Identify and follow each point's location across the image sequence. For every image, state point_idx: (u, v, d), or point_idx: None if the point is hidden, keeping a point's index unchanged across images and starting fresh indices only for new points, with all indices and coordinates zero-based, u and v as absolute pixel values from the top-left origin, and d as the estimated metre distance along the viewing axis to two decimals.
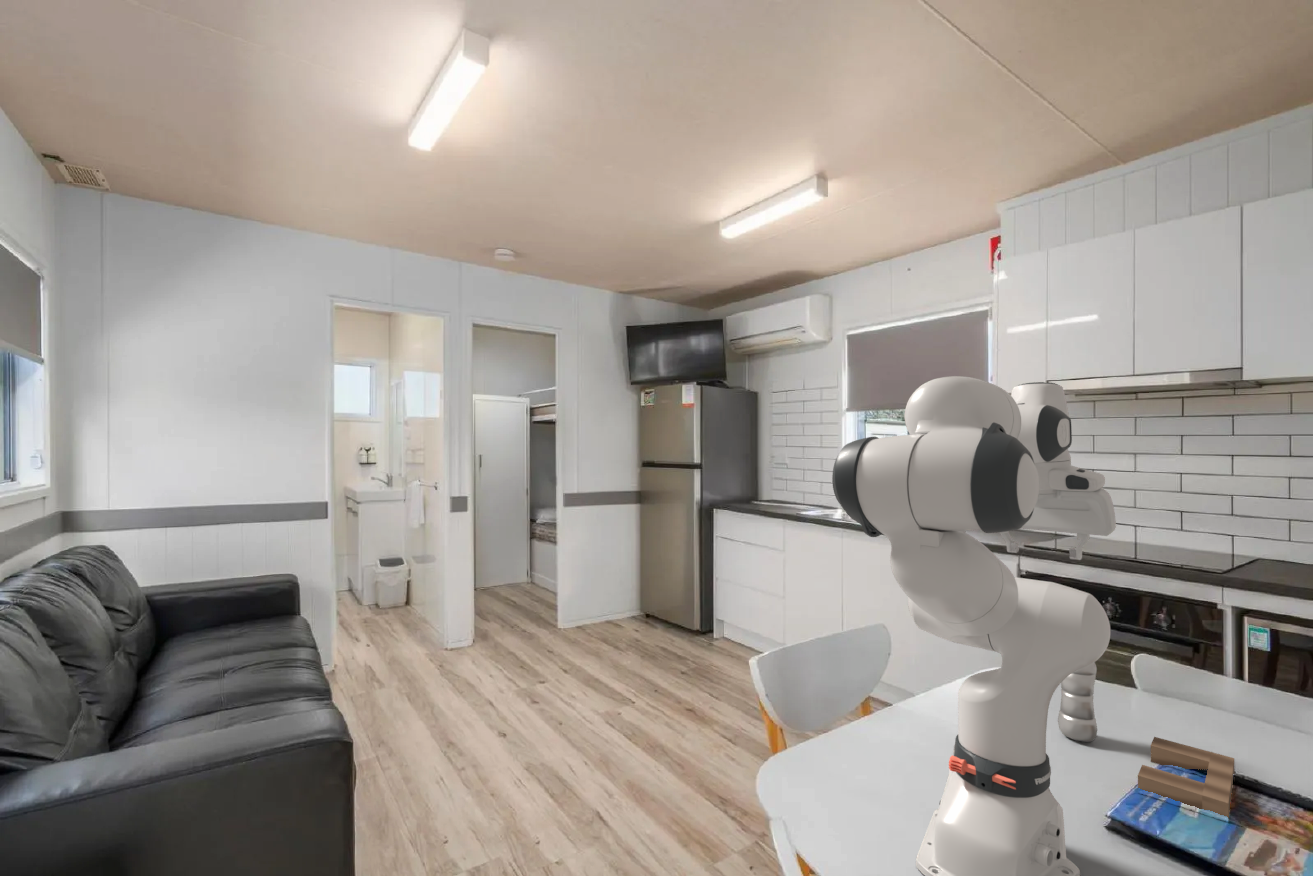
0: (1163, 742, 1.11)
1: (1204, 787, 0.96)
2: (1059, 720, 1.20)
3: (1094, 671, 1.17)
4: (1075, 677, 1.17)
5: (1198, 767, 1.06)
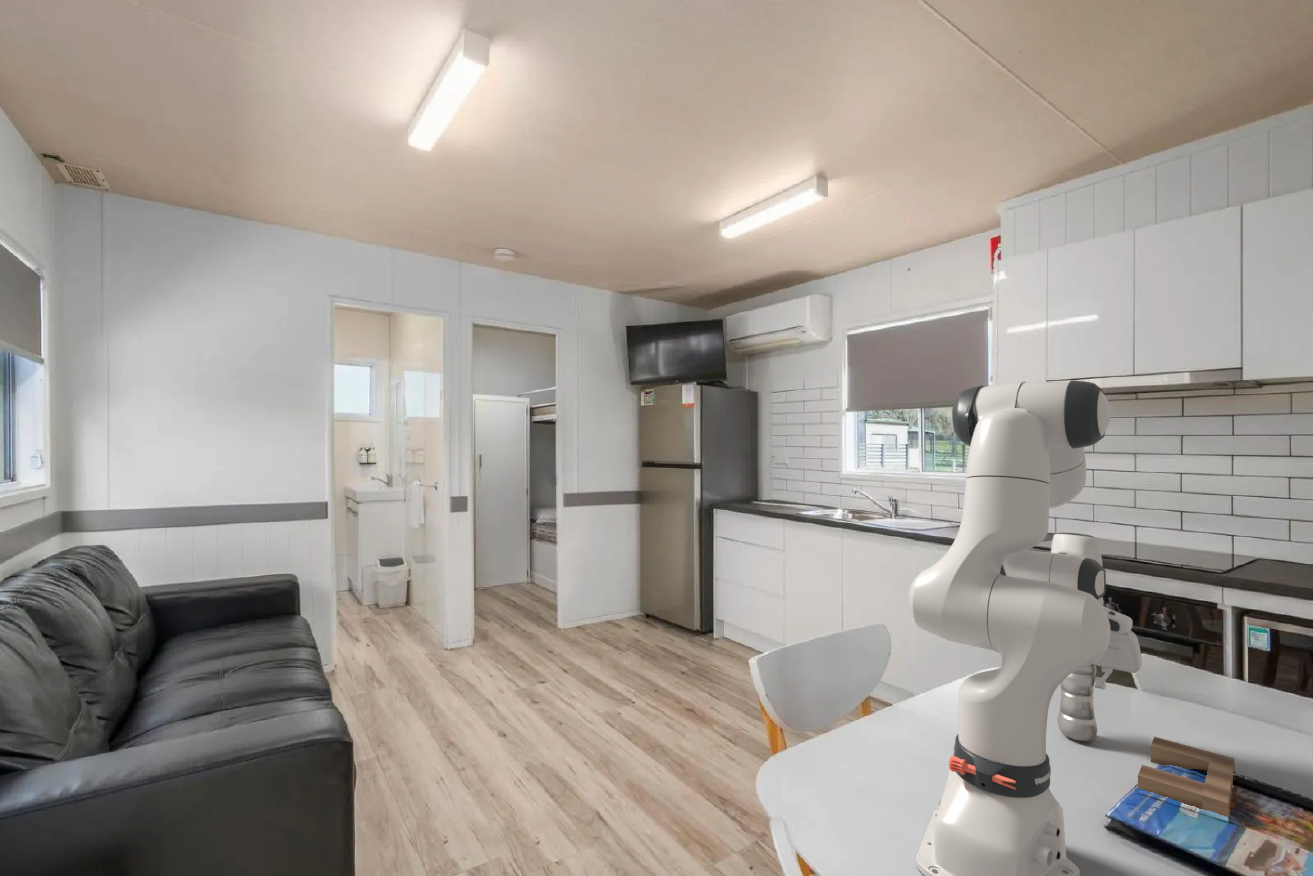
0: (1163, 742, 1.11)
1: (1204, 787, 0.96)
2: (1059, 720, 1.20)
3: (1094, 671, 1.17)
4: (1074, 677, 1.17)
5: (1198, 767, 1.06)
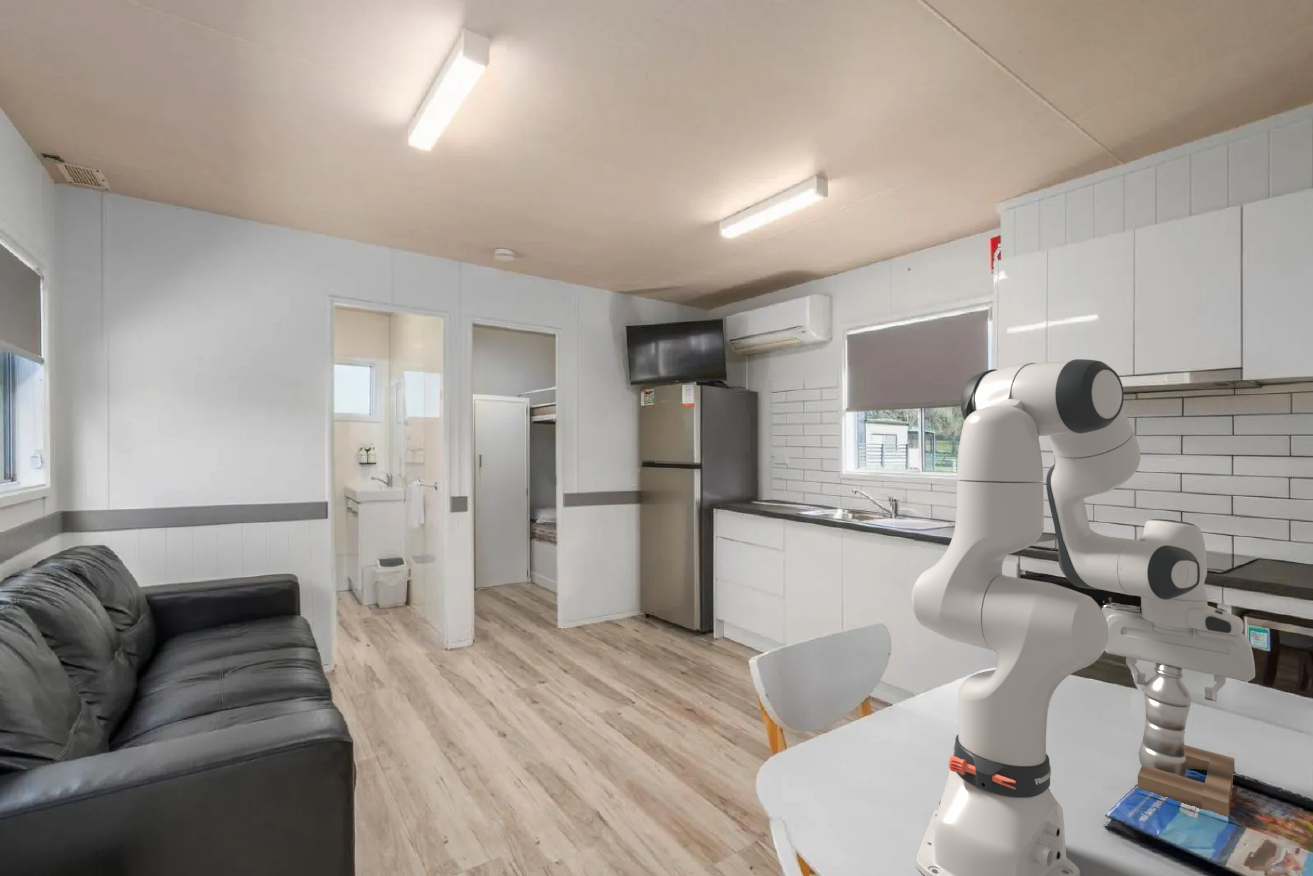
0: None
1: (1204, 787, 0.96)
2: (1141, 754, 1.06)
3: (1188, 703, 1.02)
4: (1164, 708, 1.03)
5: (1198, 767, 1.06)
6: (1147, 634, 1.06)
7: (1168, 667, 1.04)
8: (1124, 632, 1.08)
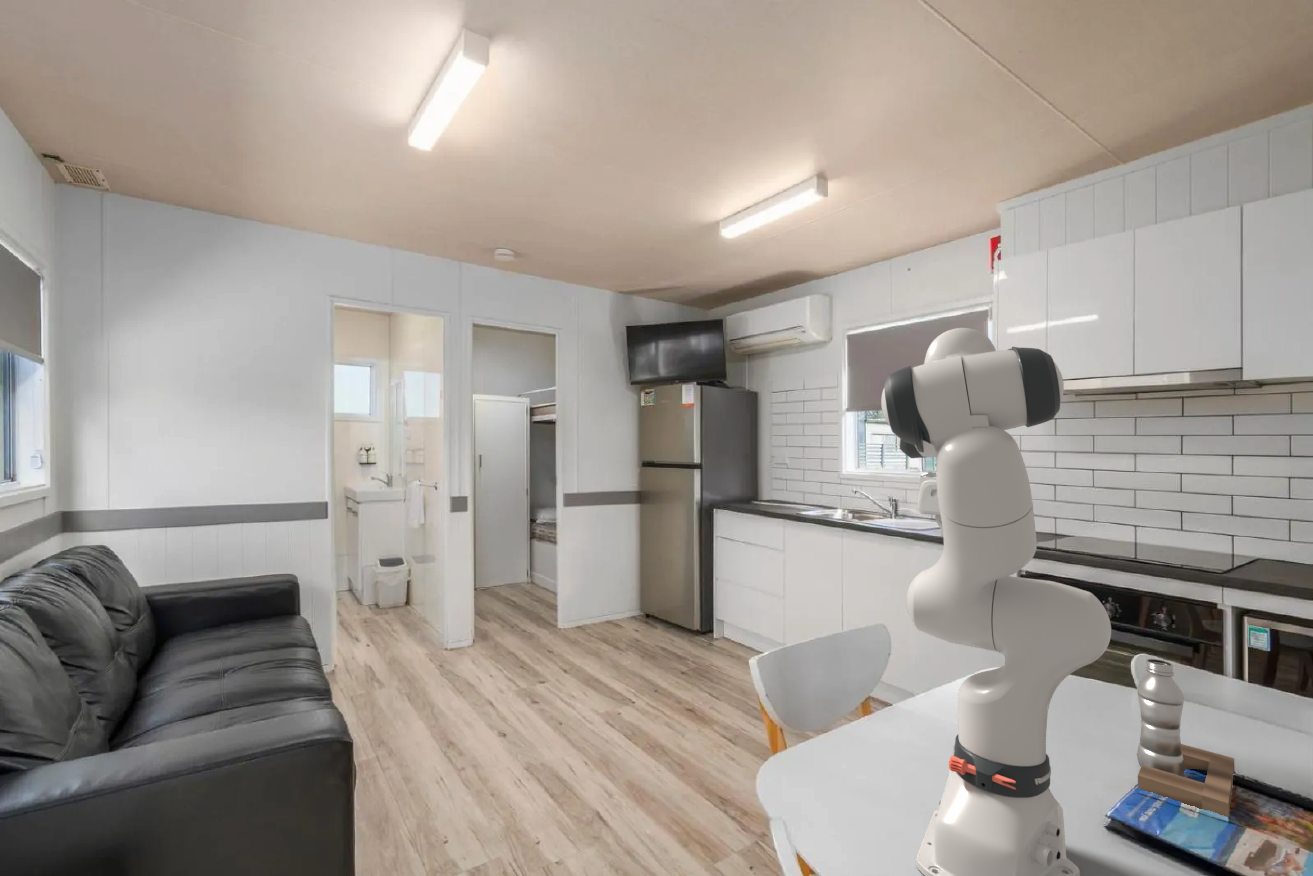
0: None
1: (1204, 787, 0.96)
2: (1139, 755, 1.06)
3: (1181, 701, 1.03)
4: (1158, 707, 1.03)
5: (1198, 767, 1.06)
6: None
7: (1159, 666, 1.04)
8: (933, 494, 1.27)
